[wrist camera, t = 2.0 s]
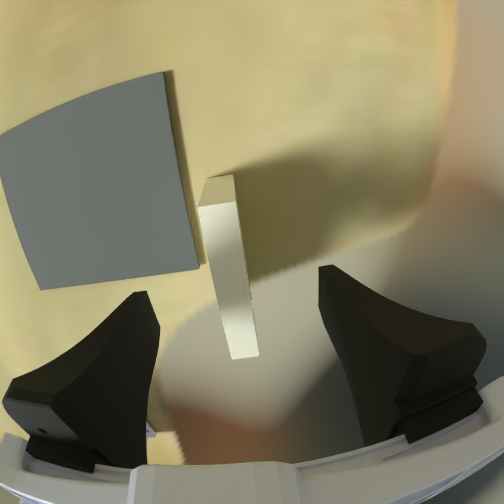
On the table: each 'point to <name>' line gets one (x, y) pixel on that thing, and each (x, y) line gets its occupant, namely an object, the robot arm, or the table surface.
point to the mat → (99, 188)
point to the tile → (228, 264)
